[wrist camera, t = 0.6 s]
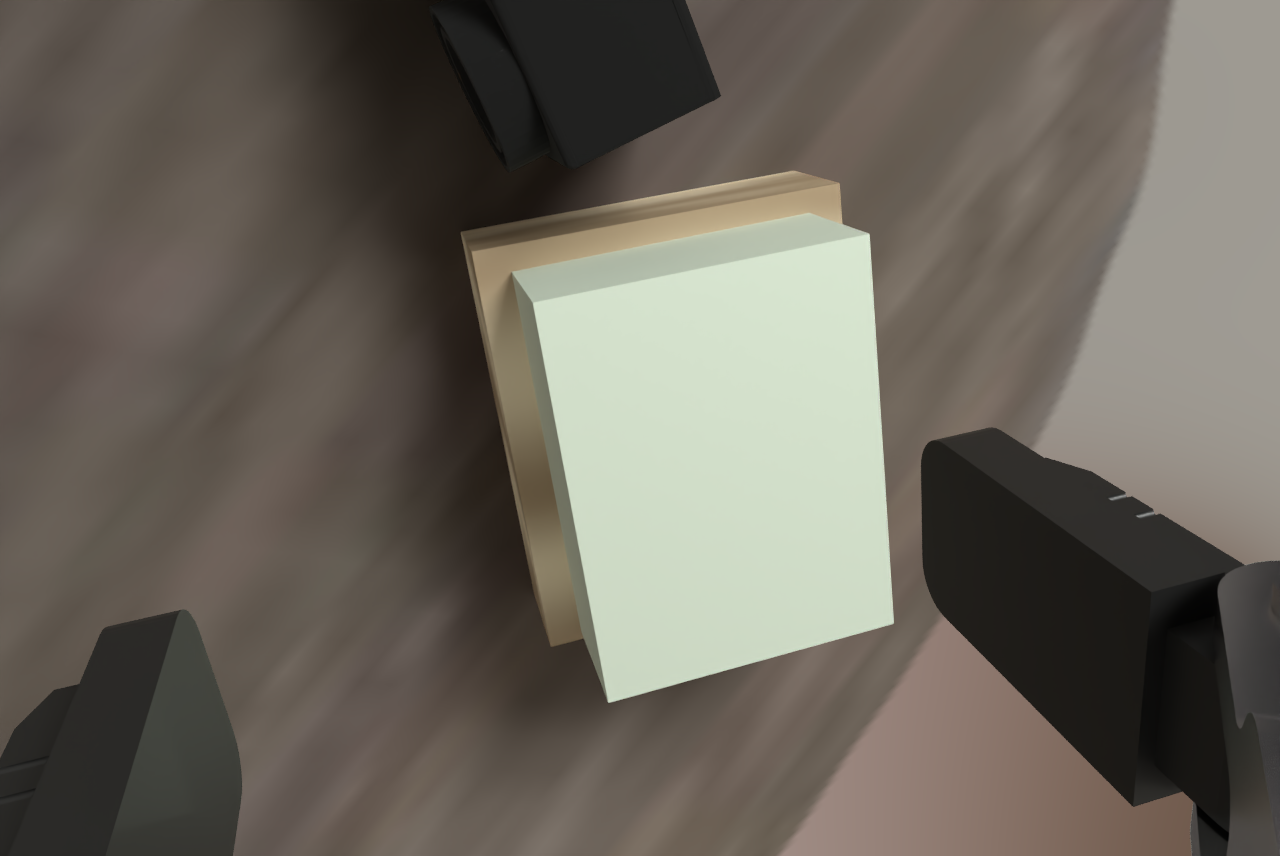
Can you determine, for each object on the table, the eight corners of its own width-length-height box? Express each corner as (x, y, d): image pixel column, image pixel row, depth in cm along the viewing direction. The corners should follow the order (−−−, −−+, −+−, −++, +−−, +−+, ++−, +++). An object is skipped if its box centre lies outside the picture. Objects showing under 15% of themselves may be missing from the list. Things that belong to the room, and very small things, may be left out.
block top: (511, 271, 29) (532, 302, 25) (808, 212, 31) (869, 233, 27) (581, 632, 34) (608, 703, 30) (838, 564, 35) (893, 623, 31)
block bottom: (459, 229, 32) (471, 251, 29) (788, 169, 34) (839, 183, 31) (532, 588, 37) (550, 647, 33) (817, 517, 39) (864, 565, 35)
